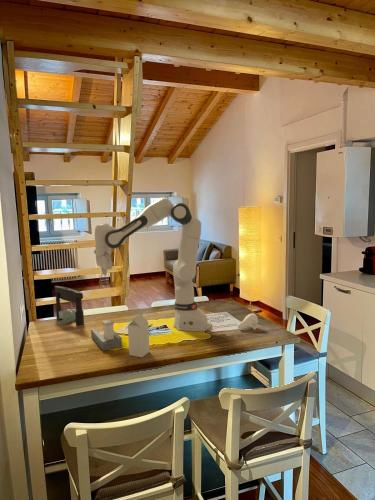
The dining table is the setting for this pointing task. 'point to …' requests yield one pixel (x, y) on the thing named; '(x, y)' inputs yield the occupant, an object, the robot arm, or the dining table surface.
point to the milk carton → (138, 336)
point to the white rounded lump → (249, 322)
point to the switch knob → (108, 329)
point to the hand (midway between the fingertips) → (104, 274)
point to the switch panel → (109, 343)
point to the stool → (67, 314)
